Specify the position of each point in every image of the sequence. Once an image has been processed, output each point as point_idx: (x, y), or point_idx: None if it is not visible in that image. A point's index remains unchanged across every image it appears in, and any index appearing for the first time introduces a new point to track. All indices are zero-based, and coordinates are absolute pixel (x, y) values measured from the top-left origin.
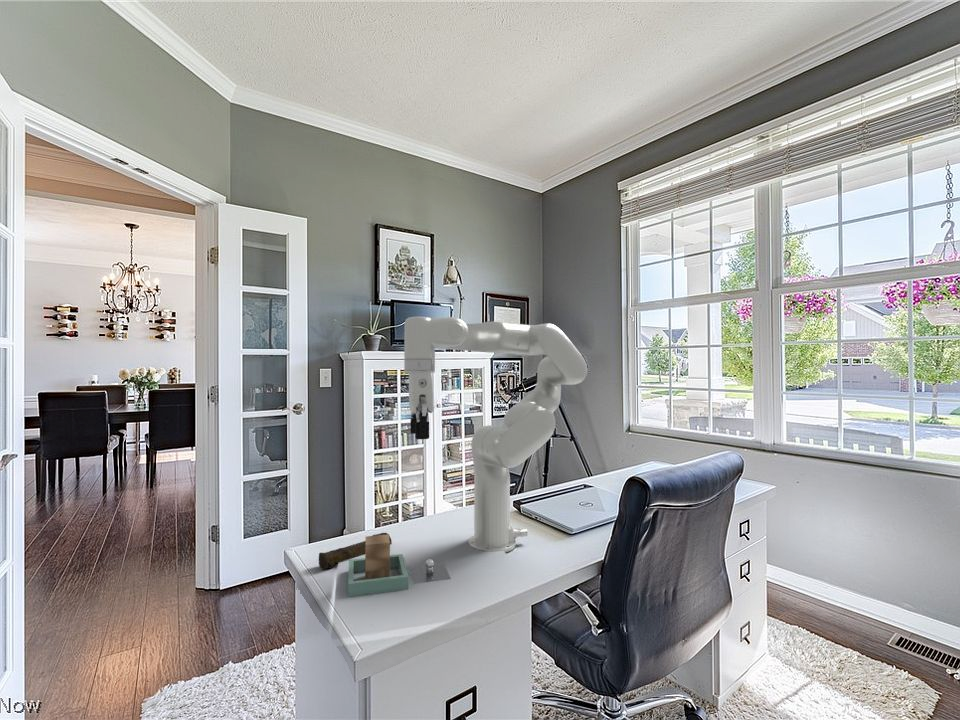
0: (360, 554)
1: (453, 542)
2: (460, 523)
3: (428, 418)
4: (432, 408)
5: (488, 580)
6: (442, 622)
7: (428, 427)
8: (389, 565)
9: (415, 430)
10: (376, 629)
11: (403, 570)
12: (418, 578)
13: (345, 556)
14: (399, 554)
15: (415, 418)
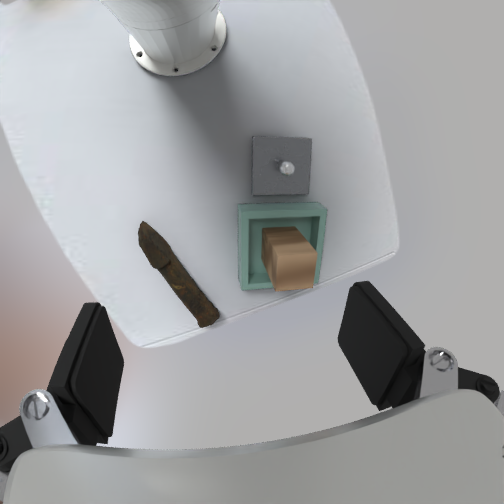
0: (185, 271)
1: (140, 102)
2: (49, 86)
3: (456, 365)
4: (495, 407)
5: (316, 82)
6: (387, 174)
7: (402, 324)
8: (304, 237)
9: (358, 373)
10: (372, 240)
11: (305, 214)
12: (295, 186)
13: (200, 292)
14: (241, 216)
15: (90, 423)
